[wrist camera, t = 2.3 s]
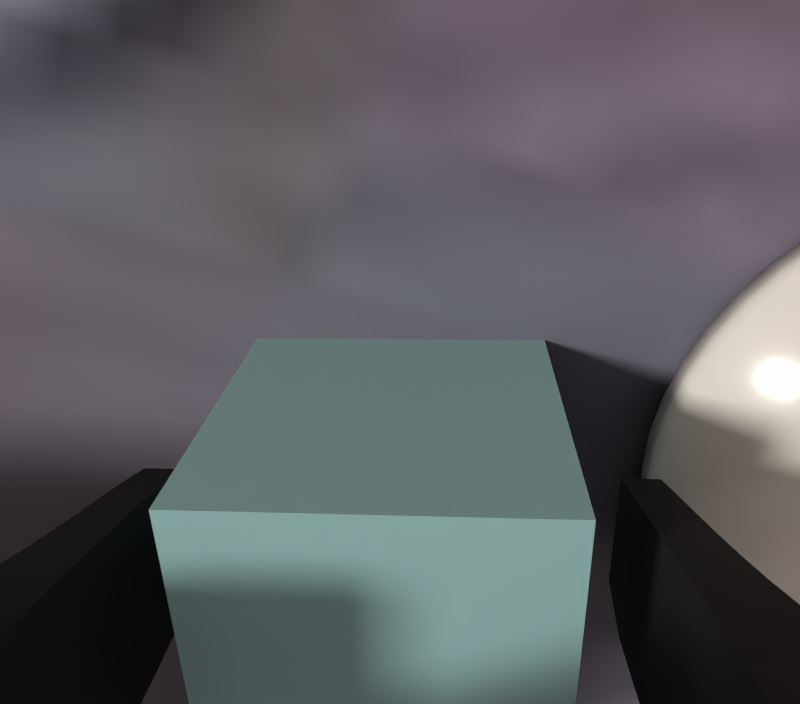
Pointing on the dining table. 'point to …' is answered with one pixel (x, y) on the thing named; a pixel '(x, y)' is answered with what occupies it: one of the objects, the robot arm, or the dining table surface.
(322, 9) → the dining table surface
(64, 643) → the robot arm
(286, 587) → the teal cube
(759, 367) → the white plate
